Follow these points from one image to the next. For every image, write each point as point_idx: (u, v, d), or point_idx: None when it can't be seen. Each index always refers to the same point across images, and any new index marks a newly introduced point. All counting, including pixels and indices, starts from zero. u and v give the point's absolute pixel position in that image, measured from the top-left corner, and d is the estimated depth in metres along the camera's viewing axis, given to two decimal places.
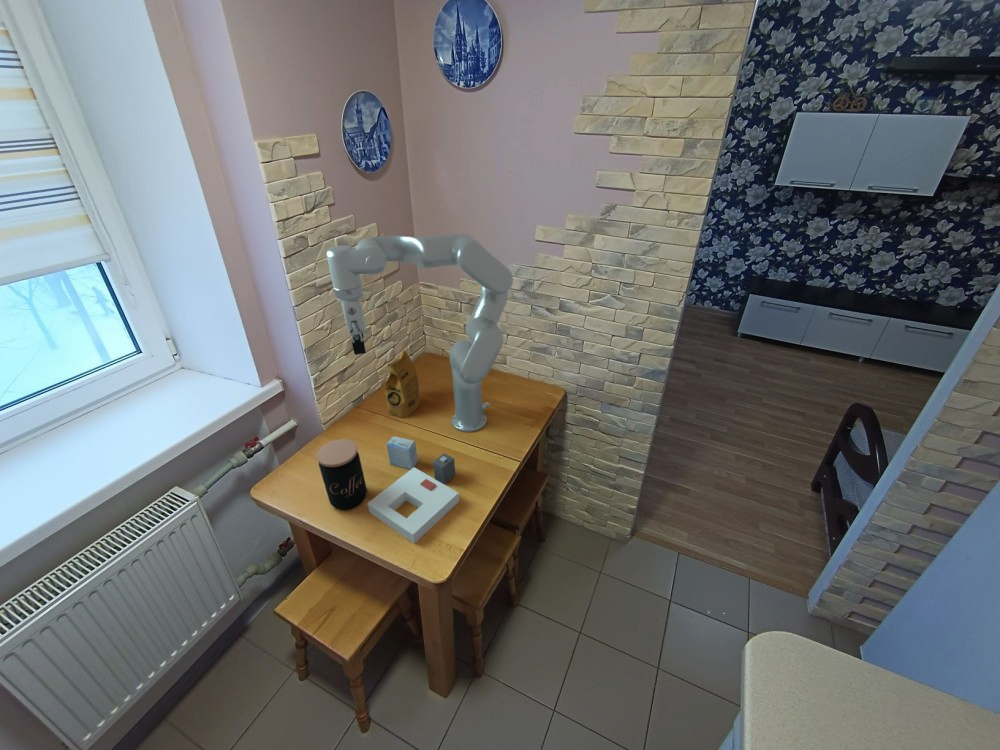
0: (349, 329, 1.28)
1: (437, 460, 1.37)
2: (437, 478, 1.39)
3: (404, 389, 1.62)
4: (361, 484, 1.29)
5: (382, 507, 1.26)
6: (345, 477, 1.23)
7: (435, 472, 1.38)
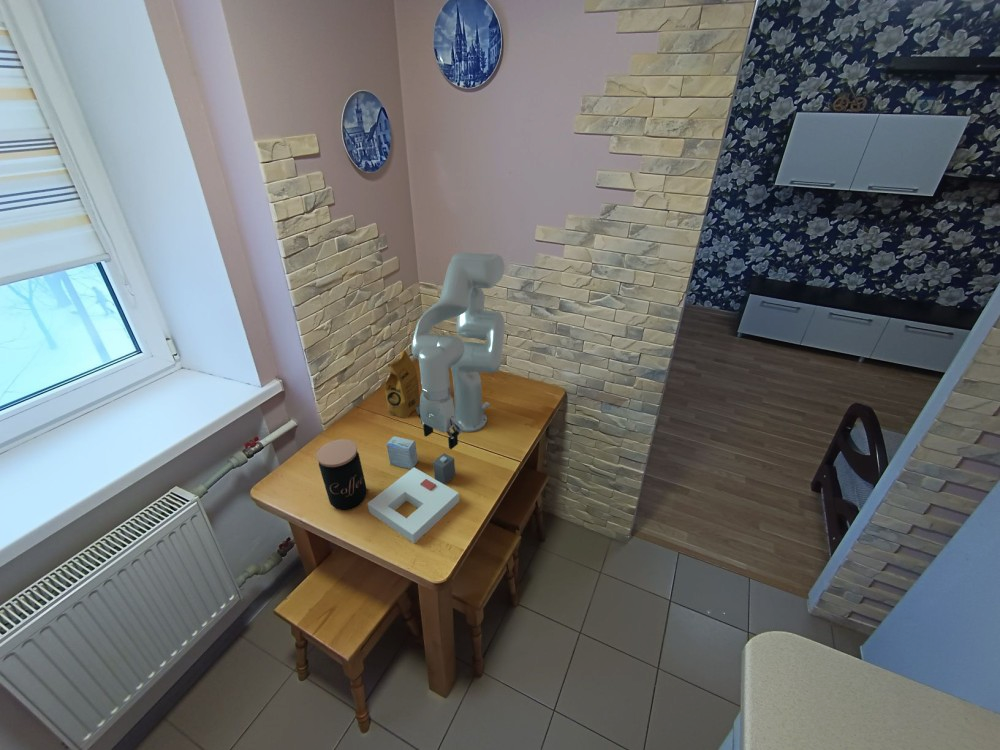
0: None
1: (437, 460, 1.37)
2: (437, 478, 1.39)
3: (404, 389, 1.62)
4: (361, 484, 1.29)
5: (382, 507, 1.26)
6: (345, 477, 1.23)
7: (435, 472, 1.38)
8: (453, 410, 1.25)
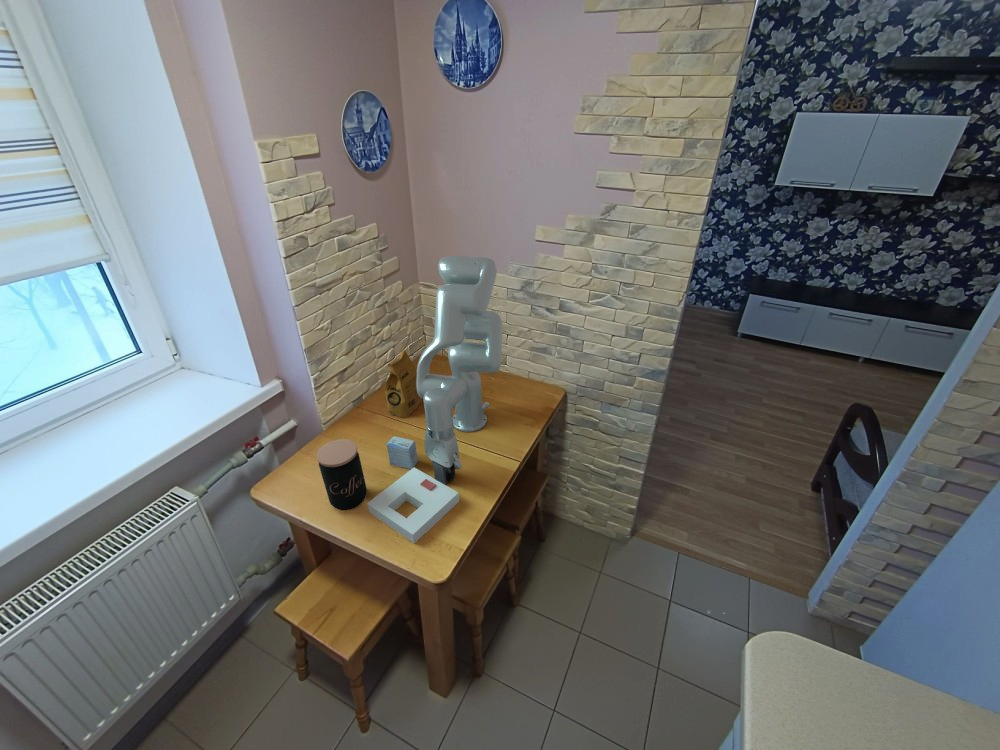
0: None
1: None
2: (437, 478, 1.39)
3: (404, 389, 1.62)
4: (361, 484, 1.29)
5: (382, 507, 1.26)
6: (345, 477, 1.23)
7: (435, 472, 1.38)
8: (456, 447, 1.32)
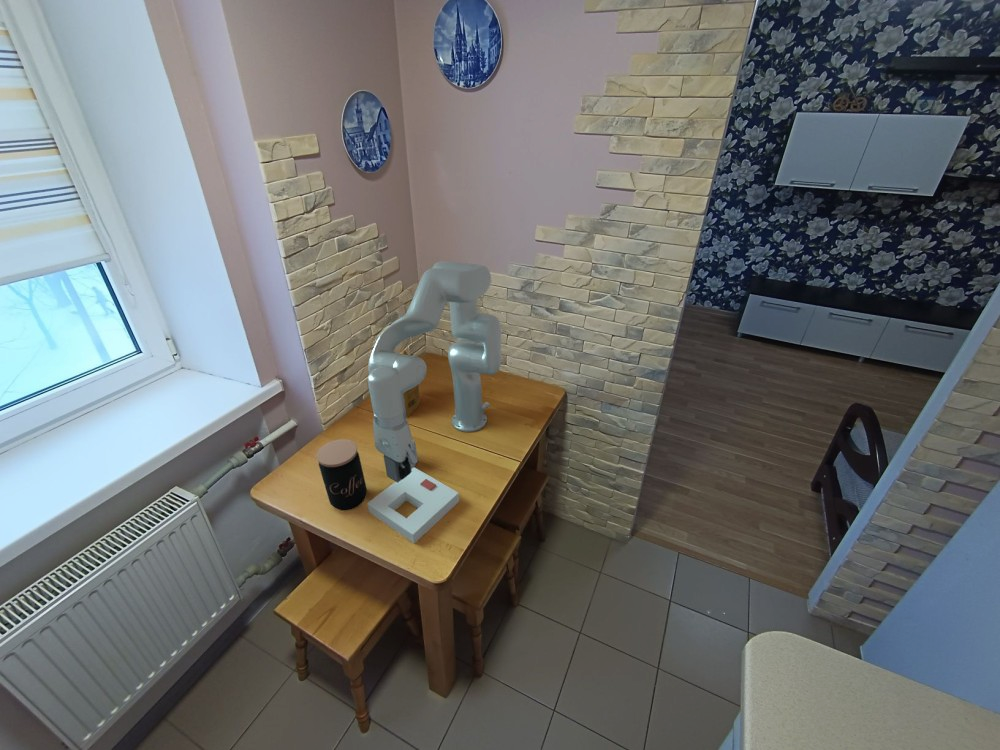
0: None
1: None
2: (389, 474, 1.18)
3: None
4: (361, 484, 1.29)
5: (382, 507, 1.26)
6: (345, 477, 1.23)
7: (386, 468, 1.18)
8: (409, 437, 1.12)
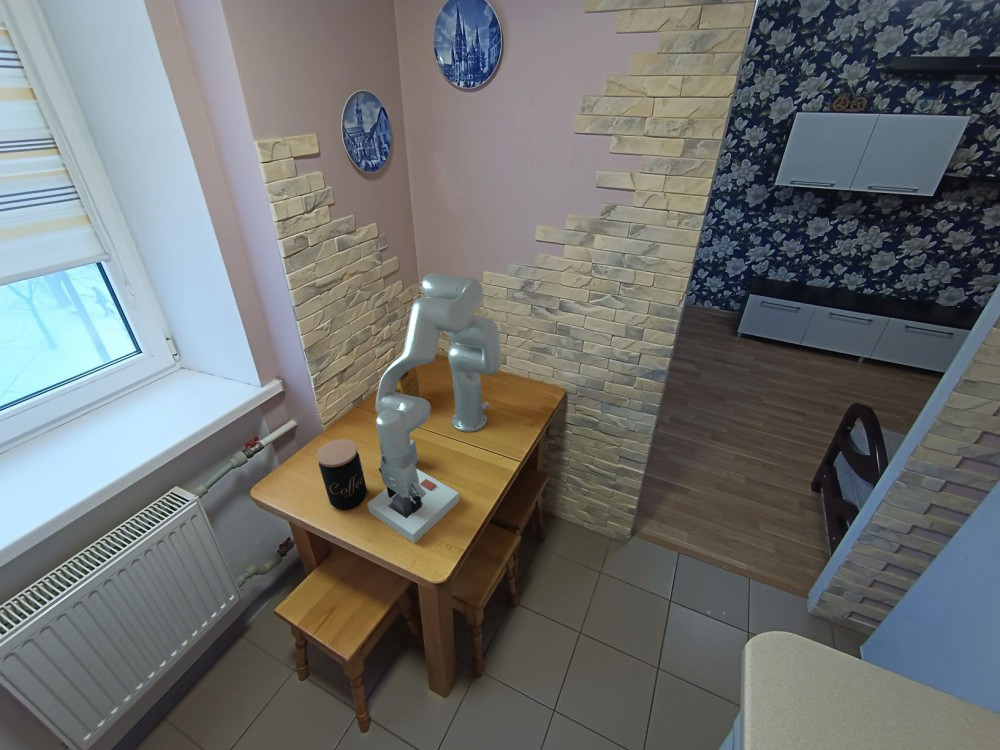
0: None
1: (397, 496, 1.25)
2: None
3: (404, 389, 1.62)
4: (361, 484, 1.29)
5: (382, 507, 1.26)
6: (345, 477, 1.23)
7: (395, 509, 1.26)
8: (415, 474, 1.18)
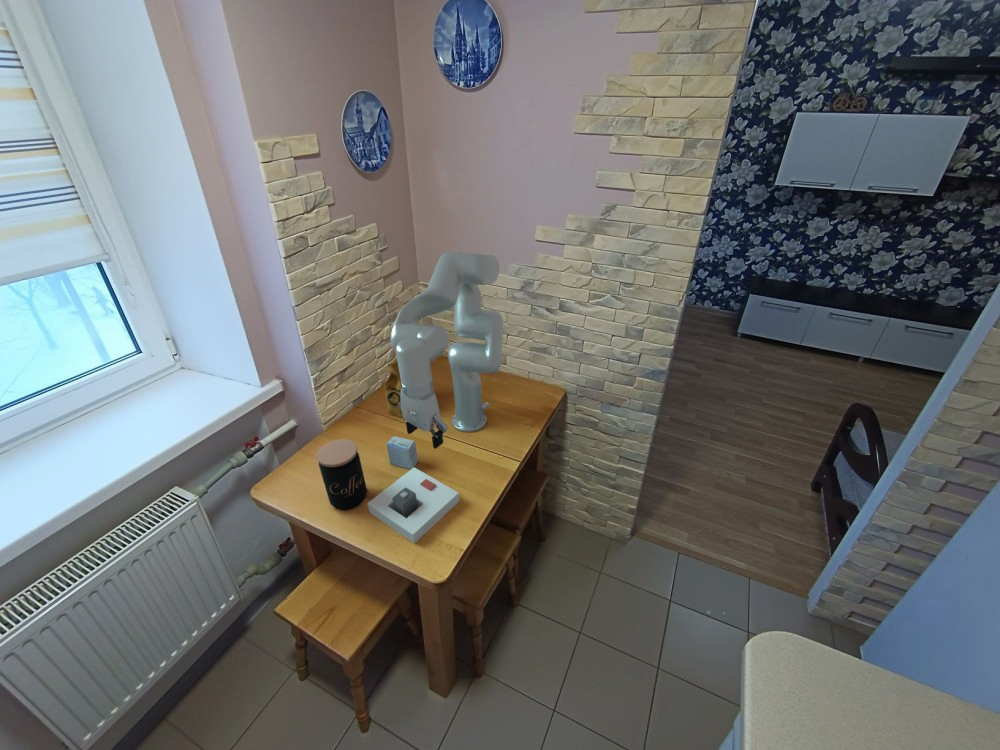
0: None
1: (397, 496, 1.25)
2: None
3: None
4: (361, 484, 1.29)
5: (382, 507, 1.26)
6: (345, 476, 1.23)
7: (395, 509, 1.26)
8: (436, 407, 1.14)
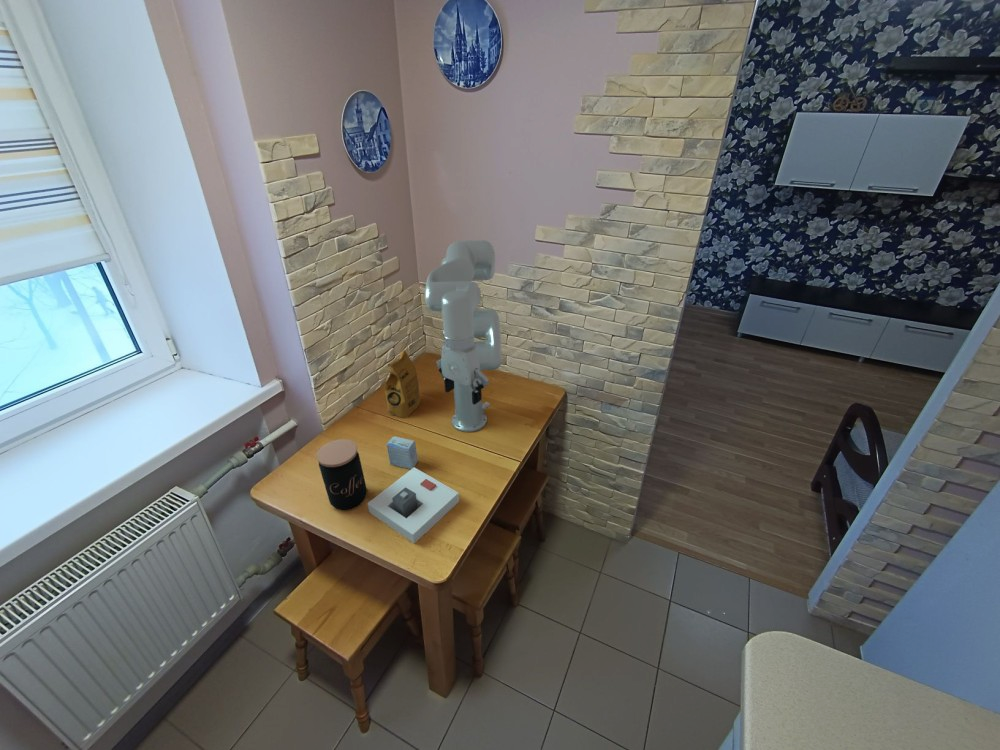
0: None
1: (397, 496, 1.25)
2: None
3: (404, 389, 1.62)
4: (361, 484, 1.29)
5: (382, 507, 1.26)
6: (345, 477, 1.23)
7: (395, 509, 1.26)
8: (477, 361, 1.17)
